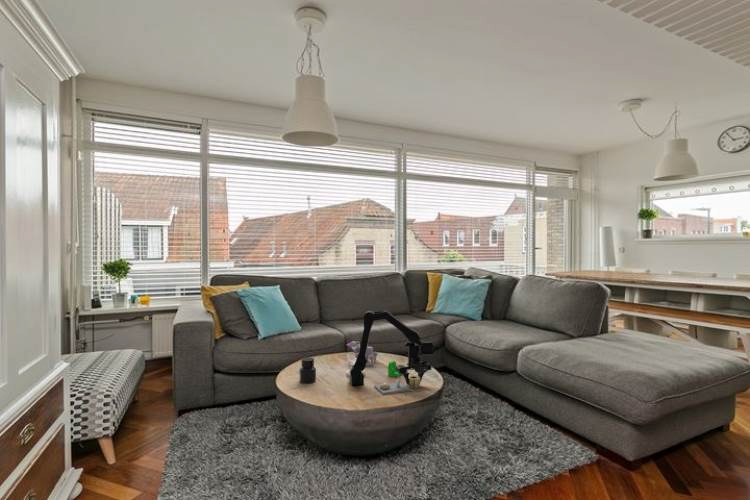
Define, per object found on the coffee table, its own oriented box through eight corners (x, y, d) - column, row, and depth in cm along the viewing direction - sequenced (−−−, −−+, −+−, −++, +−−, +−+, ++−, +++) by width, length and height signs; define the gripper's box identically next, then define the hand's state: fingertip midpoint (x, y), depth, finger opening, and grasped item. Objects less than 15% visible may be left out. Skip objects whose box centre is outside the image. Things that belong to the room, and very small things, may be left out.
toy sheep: (342, 364, 257) (342, 342, 257) (349, 360, 267) (349, 339, 267) (372, 367, 250) (372, 345, 250) (378, 363, 260) (378, 341, 260)
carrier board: (383, 394, 204) (383, 386, 204) (374, 387, 215) (374, 379, 215) (410, 390, 209) (410, 382, 209) (400, 383, 220) (400, 376, 220)
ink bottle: (307, 377, 232) (307, 355, 231) (319, 379, 227) (319, 358, 227) (295, 382, 223) (295, 359, 223) (308, 384, 219) (308, 362, 219)
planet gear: (410, 388, 213) (410, 380, 213) (405, 384, 219) (405, 376, 219) (422, 387, 215) (422, 378, 215) (416, 383, 221) (416, 375, 221)
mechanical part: (397, 377, 231) (397, 363, 231) (388, 375, 235) (388, 361, 235) (407, 372, 241) (407, 358, 241) (399, 370, 245) (399, 357, 245)
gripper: (404, 360, 206) (404, 391, 206) (436, 356, 213) (436, 386, 213) (395, 354, 216) (395, 384, 216) (426, 351, 223) (426, 380, 223)
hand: (413, 384), depth 217 cm, fingers closed on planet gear, 6 cm apart
